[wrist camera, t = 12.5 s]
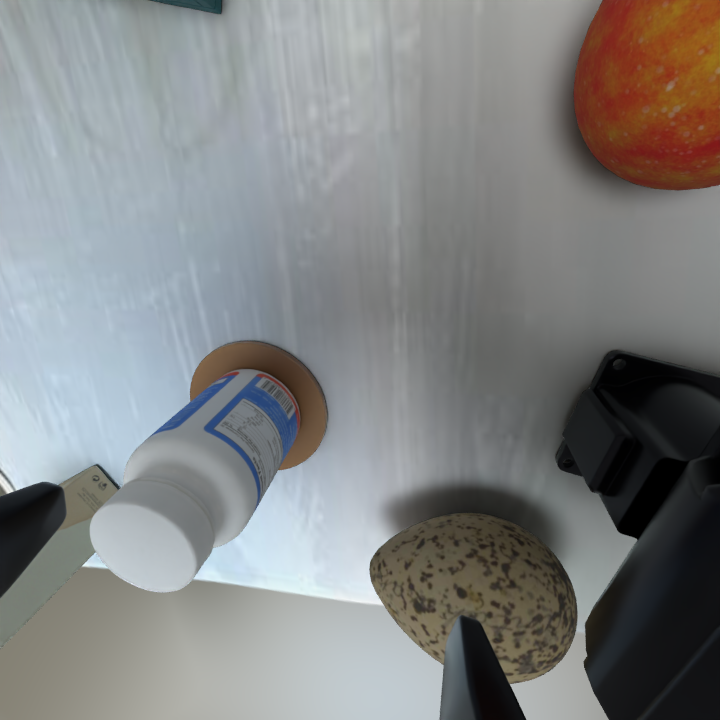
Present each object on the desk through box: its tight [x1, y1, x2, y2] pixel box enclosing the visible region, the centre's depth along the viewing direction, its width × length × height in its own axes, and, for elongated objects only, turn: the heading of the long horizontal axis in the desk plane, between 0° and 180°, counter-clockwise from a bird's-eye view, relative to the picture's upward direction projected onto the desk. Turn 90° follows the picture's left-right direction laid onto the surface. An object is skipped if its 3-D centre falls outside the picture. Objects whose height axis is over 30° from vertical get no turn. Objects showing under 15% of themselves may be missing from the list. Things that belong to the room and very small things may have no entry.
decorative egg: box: [369, 513, 577, 684], centre depth 20 cm, size 7×7×10 cm
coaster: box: [190, 341, 327, 470], centre depth 23 cm, size 8×8×1 cm
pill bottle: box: [90, 369, 300, 592], centre depth 18 cm, size 6×5×10 cm
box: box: [0, 466, 118, 649], centre depth 23 cm, size 5×4×11 cm
